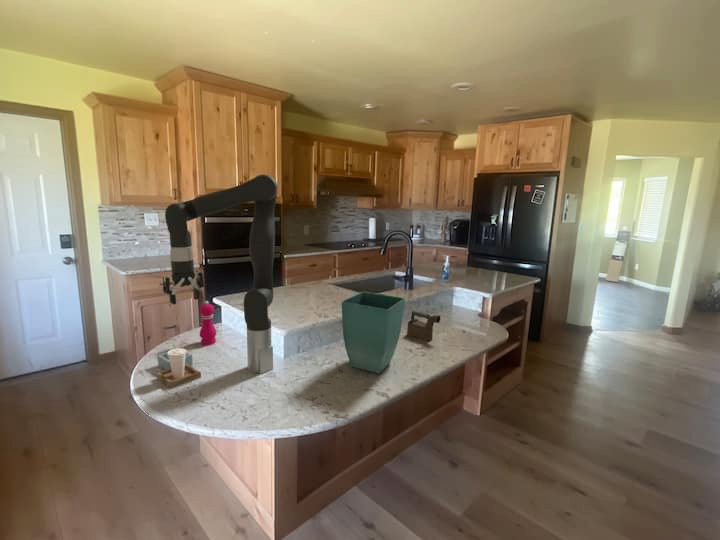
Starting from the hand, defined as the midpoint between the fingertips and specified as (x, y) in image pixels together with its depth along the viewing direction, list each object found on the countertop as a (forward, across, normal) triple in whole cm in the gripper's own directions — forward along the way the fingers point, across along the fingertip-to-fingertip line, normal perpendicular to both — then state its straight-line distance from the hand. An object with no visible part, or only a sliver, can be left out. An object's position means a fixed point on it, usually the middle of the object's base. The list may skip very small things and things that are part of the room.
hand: (185, 301), depth 139 cm
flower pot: (+29, +52, -49) cm, 77 cm away
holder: (+28, -1, +9) cm, 29 cm away
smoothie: (+27, -6, -2) cm, 28 cm away
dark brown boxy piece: (+30, +94, -50) cm, 111 cm away
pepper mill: (+28, +20, +20) cm, 40 cm away
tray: (+28, -6, -2) cm, 29 cm away
